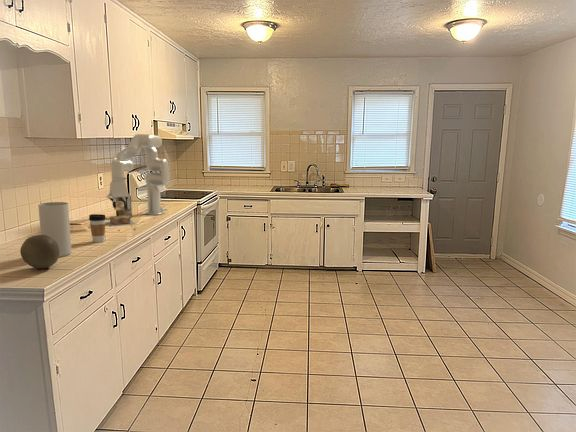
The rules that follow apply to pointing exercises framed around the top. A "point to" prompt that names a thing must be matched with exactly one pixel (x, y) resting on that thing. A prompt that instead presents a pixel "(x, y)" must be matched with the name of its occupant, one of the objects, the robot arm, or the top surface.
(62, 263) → the top surface
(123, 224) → the board
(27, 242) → the cantaloupe
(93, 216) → the coffee cup
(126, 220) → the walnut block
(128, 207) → the coffee box
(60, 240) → the cylinder vase
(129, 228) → the top surface
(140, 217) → the top surface
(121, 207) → the oak cube
